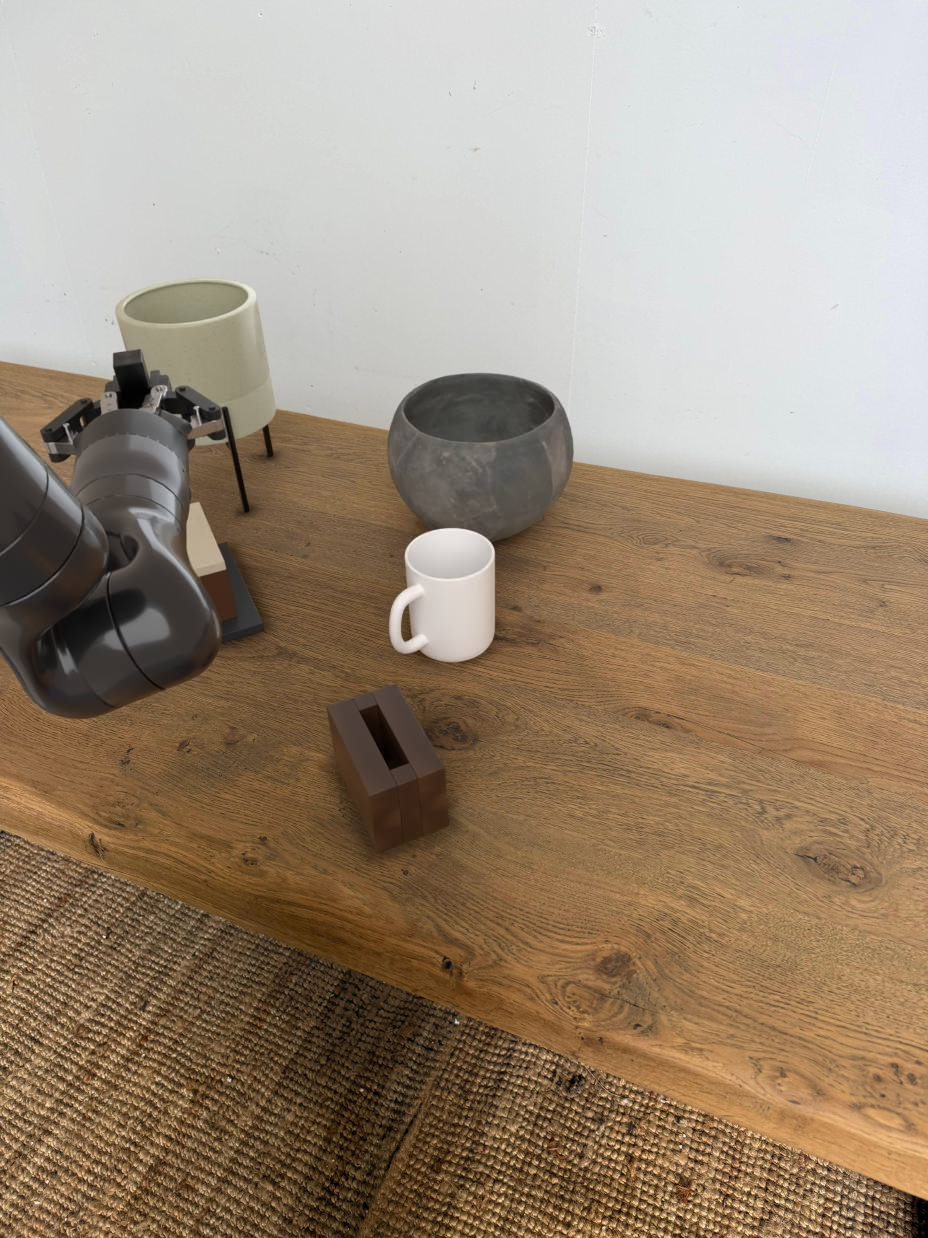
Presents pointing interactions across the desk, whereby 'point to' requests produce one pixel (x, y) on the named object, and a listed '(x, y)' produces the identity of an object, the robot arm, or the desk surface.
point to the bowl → (480, 453)
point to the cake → (221, 578)
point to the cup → (447, 596)
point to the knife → (131, 377)
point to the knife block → (388, 767)
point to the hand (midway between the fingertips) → (139, 383)
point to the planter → (206, 351)
